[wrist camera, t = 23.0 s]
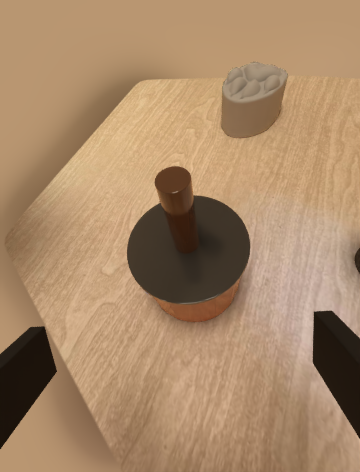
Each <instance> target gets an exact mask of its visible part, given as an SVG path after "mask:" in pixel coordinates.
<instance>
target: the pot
mask: <svg viewBox="0 0 360 472" xmlns="http://www.w3.org/2000/svg"><path fill="white" fill-rule="evenodd" d="M239 282H240V279H239V280H238V282H237V283H236V284H235V285H234V286H233V287H232V288H231V289H230V290H229V291H227V292H226V293H225V294H223V295H222V296H220V297H218V298H216V299H214V300H212V301H209V302H206V303H202V304H198V305H189V306H184V305H174V304H169V303H166V302H163V301H160V300H158V299H156V298H154V299H155V300H156V301H157V302H158V304H159V305H160V306H161V308H162V309H163V310H164V311H165V312H167V313H168V314H170V315H171V316H173V317H175V318H177V319H179V320H183V321H187V322H202V321H206V320H209V319H212V318H214V317H216V316H218V315H219V314H221V313H222V312H223V311H224V310H225V309H226V308H227V307H228V306H229V305H230V304H231V302H232V300H233V299H234V296H235V294H236V292H237V290H238V286H239Z"/></svg>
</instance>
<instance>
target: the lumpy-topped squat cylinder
mask: <svg viewBox="0 0 360 472" xmlns="http://www.w3.org/2000/svg"><path fill="white" fill-rule="evenodd" d="M287 77H288V74H287V72H286V71H285V70H283V69H281V68H278V67H277V66H275V65H268V64H261V63H258V62H252V63H250V64H247V65H244V66H242V67H240V68H237V67H236V68H234V69H232V70H231V71H230V72H229V74H228V77H227V79H226V80H225V81H224V83H223V86H222V123H221V125H222V129H223V131H224V132H225V133H226V134H227V135H228V136H231V137H234V138H244V137H251V136H254V135H257V134H259V133H262V132H264V131H266V130H267V129H268V128H269V127H270V126H271V125H272V124H273V123H274V121H275V120H276V118H277V117H278V115H279V112H280V108H281V103H282V99H283V95H284V90H285V86H286V81H287Z"/></svg>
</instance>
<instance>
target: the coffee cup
mask: <svg viewBox="0 0 360 472" xmlns="http://www.w3.org/2000/svg"><path fill="white" fill-rule="evenodd" d="M355 264H356V267H357V269H358V271H359V272H360V249H359V250H358V251H357V253H356V255H355Z"/></svg>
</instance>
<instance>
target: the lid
mask: <svg viewBox="0 0 360 472" xmlns="http://www.w3.org/2000/svg"><path fill="white" fill-rule="evenodd" d="M155 186H156V190H157V193H158V196H159V199H160V202H161V203H159V204H158V205H156V206H154V207H153V208H151V209H150V210H149V211H147V212H146V213H145V214H144V215H143V216H142V217H141V218H140V220H139V221H138V222H137V224H136V225H135V227H134V228H133V230H132V232H131V235H130V238H129V242H128V247H127V260H128V264H129V268H130V270H131V273H132V275H133V277H134V278H135V280H136V281H137V283H138V284H139V285H140V286H141V287H142V288H143V289H144V290H145V291H146V292H147V293H148V294H150V295H151V296H153V297H154V298H156V299H158V300H160V301H163V302H166V303H169V304H174V305H184V306H189V305H198V304H202V303H206V302H209V301H212V300H214V299H216V298H218V297H220V296H222V295H223V294H225V293H226V292H227V291H229V290H230V289H231V288H232V287H233V286H234V285H235V284H236V283H237V282H238V280H239V279H240V278H241V276H242V274H243V273H244V271H245V268H246V266H247V263H248V259H249V255H250V239H249V235H248V232H247V229H246V227H245V225H244V223H243V221H242V220H241V218H240V217H239V216H238V215H237V214H236V213H235V212H234V211H233V210H232V209H231V208H230V207H228V206H227V205H225V204H223V203H222V202H220V201H217V200H215V199H212V198H209V197H204V196H195V195H193V188H192V181H191V175H190V173H189V172H188V171H187V170H186V169H184V168H182V167H177V166H174V167H168V168H166V169H164V170H162V171H161V172H159V173H158V175H157V176H156V178H155Z"/></svg>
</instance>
